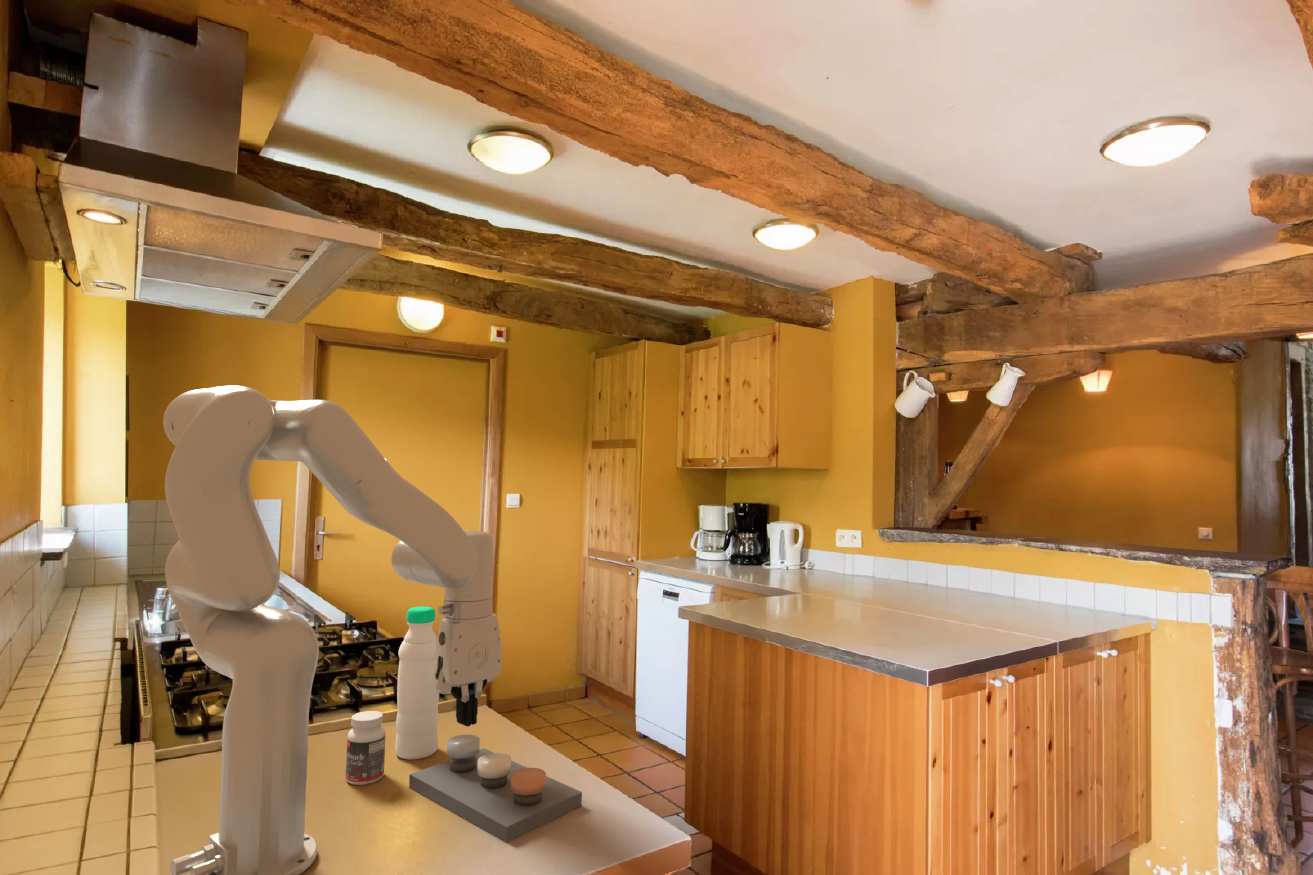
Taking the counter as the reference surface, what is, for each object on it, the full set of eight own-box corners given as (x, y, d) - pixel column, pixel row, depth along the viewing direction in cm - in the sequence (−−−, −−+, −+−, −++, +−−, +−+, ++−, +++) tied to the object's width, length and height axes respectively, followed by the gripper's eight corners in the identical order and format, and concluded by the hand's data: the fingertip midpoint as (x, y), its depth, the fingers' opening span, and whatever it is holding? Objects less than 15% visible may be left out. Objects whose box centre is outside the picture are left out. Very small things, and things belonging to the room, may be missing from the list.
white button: (490, 781, 106) (491, 769, 106) (470, 771, 109) (471, 759, 109) (517, 771, 110) (518, 759, 110) (497, 761, 113) (497, 750, 113)
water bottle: (424, 763, 121) (429, 613, 122) (386, 758, 122) (391, 610, 123) (444, 747, 128) (449, 605, 129) (408, 743, 129) (413, 603, 130)
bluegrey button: (459, 761, 111) (459, 749, 111) (440, 752, 115) (441, 740, 115) (485, 751, 115) (486, 740, 115) (467, 743, 118) (467, 732, 118)
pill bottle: (337, 781, 114) (339, 717, 114) (367, 767, 119) (369, 707, 119) (362, 789, 111) (364, 724, 111) (391, 775, 116) (393, 713, 116)
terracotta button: (525, 798, 101) (526, 785, 101) (503, 787, 104) (503, 775, 104) (552, 787, 105) (553, 774, 105) (530, 776, 108) (530, 764, 108)
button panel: (506, 842, 97) (506, 817, 97) (409, 787, 112) (409, 765, 112) (581, 805, 107) (582, 783, 107) (483, 760, 123) (484, 740, 123)
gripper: (441, 620, 108) (439, 743, 107) (520, 604, 119) (518, 716, 119) (413, 612, 113) (411, 730, 112) (492, 598, 124) (490, 705, 124)
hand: (466, 723), depth 115 cm, fingers closed
